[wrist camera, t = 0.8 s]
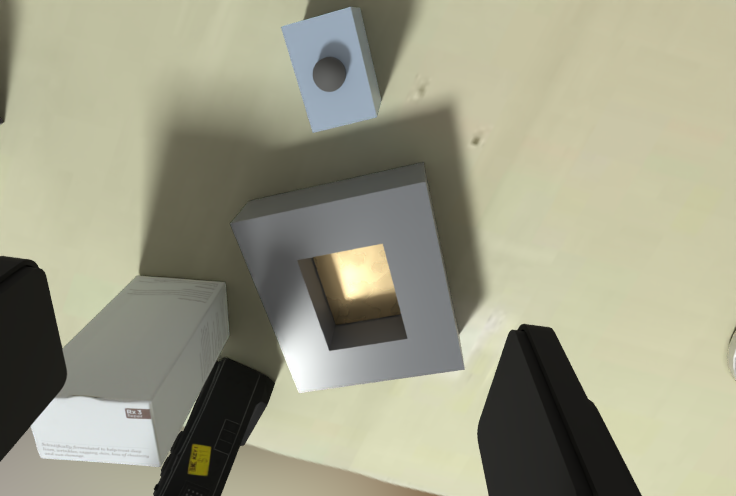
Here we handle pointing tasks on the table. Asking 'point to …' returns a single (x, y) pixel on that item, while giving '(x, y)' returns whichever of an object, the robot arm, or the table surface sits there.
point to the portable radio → (215, 431)
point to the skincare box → (136, 373)
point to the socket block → (353, 279)
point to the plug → (334, 68)
